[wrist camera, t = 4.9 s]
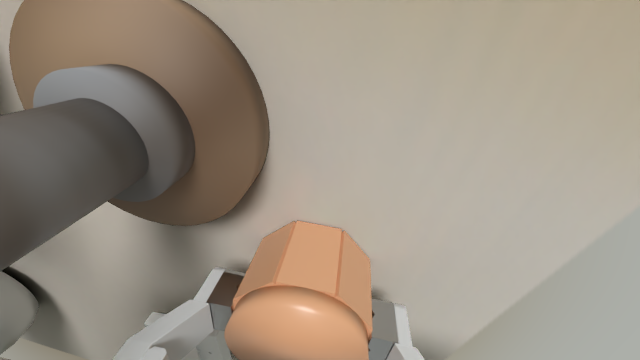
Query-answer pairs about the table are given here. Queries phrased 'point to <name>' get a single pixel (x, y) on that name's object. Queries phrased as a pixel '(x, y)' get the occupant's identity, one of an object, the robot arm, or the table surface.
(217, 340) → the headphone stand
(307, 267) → the cap
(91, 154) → the post stand
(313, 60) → the table surface
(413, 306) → the table surface
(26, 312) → the plastic bottle
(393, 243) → the table surface
